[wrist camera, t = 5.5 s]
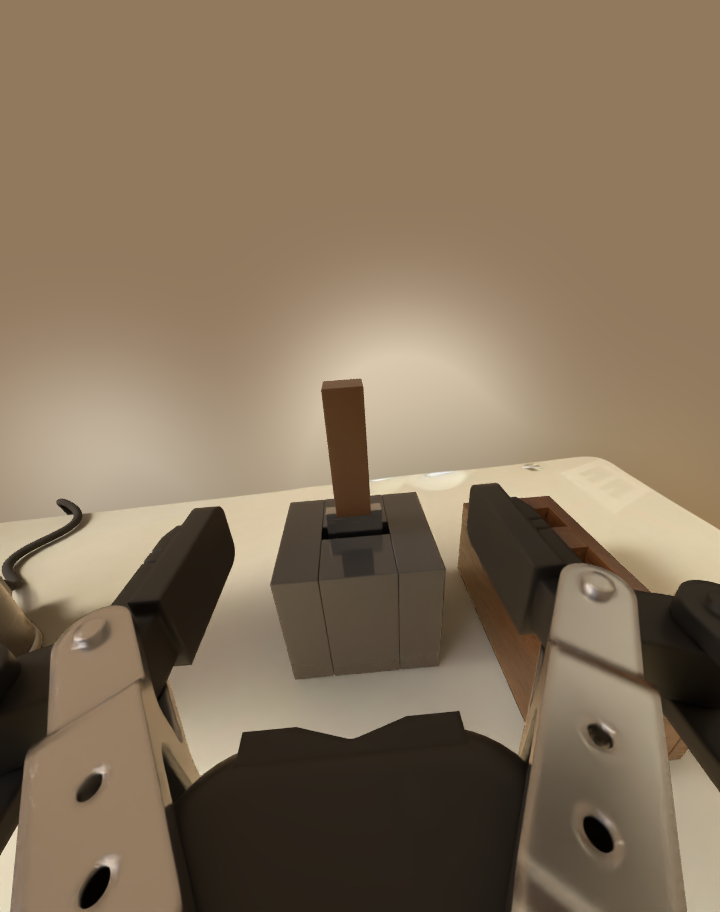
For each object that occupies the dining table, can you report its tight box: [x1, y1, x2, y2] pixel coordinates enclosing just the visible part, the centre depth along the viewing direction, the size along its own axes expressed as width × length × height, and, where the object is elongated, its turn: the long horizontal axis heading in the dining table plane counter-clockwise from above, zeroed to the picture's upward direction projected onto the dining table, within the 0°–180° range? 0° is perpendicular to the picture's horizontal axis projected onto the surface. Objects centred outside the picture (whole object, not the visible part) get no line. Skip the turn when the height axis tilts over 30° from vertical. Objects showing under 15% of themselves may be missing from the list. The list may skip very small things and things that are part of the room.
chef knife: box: [321, 379, 383, 539], centre depth 24 cm, size 4×2×21 cm, turn 93°
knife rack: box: [458, 496, 688, 760], centre depth 24 cm, size 8×16×8 cm, turn 3°
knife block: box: [270, 492, 446, 679], centre depth 26 cm, size 11×9×10 cm
